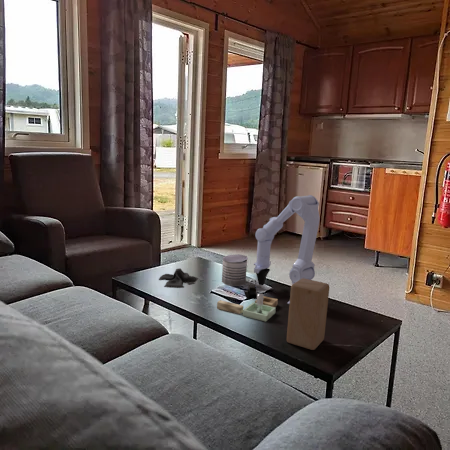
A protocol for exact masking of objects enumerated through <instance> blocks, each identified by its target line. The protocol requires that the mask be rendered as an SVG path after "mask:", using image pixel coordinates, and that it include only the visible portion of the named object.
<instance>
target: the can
mask: <svg viewBox="0 0 450 450" xmlns="http://www.w3.org/2000/svg"><path fill="white" fill-rule="evenodd" d="M247 266H248V256H247V255H244V254H236V253H235V254H227V255H225V256H223V257H222V271H221V272H222V273H221V282H222V283H223V284H224V285H226V286H230V287H238V286H239V287H241V286H244V285H246V282H247V271H248V270H247Z"/></svg>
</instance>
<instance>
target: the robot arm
mask: <svg viewBox="0 0 450 450" xmlns="http://www.w3.org/2000/svg"><path fill="white" fill-rule="evenodd" d="M319 206H320V202H319V201H318V199H317V198H316V197H315V196H314V195H312V194H308V195H301V196H298V195H297V196H294V197H293V198H292V199H291V200H289V202H288V204H287V206H286V207H285V208H284V209H283V210H282V211H281V212H280V213H279V215H277V216H273V217H269V221H268V222H266V223H265V224H264V225H263V227H262V228H258V229H257V230H256V231H255V234H254V235H255V236H254V237H255V239H256V240H257V249H256V262H254V263H253V266H255V267H254V268H253V273H255V274H256V278H257V283H258V285H260V286H264V285H265V282H266V278H267V277H268V274H269V273H270V271H271V269H270V266H271V265H272V262H271V261H270V258H271V246H272V243H273V240H274V238H275V236H276V234H277V233H278V232H279V231H280V230H282V228H283V227H284V222H286V221H287V220H288V219H289V218H291V216H293V215H294V214H297V216H299V217H300V218H301V219H302V220H303V221H304V224H303V229H302V235H301V240H300V246H299V251H298V256H297V259H296V260H295V262H294V263H293V264H292V268H291V269H290V270H289V274H288V275H289V279H290V282H291V283H292V284H294V283H296V282H297V281H299V280H300V279H302V278H305V279H309V280H313V279H314V278H315V275H316V271H315V263H314V262H313V261H312V259H313V255H314V250H315V245H316V241H317V235H318V231H319V226H320V218H321V217H320V211H319ZM286 304H287V305H289V304H290V300H289V301H288V302H287V303H286Z"/></svg>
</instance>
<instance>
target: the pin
mask: <svg viewBox="0 0 450 450" xmlns="http://www.w3.org/2000/svg"><path fill="white" fill-rule="evenodd" d="M263 296H265V295H264V293H258V292H257V299H256V300H257V303H256V313H260V314H262V309H263Z"/></svg>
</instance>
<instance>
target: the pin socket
mask: <svg viewBox="0 0 450 450" xmlns="http://www.w3.org/2000/svg"><path fill="white" fill-rule="evenodd" d="M278 302H279V299H278V298H274V297H268V296H265V295H264V296H263V305H267V306H271V307H275V308H277V306H278ZM254 303H257V299H255V301H254Z"/></svg>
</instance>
